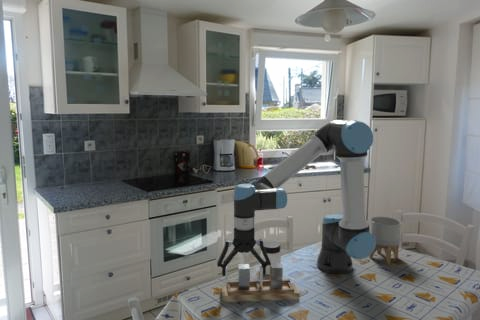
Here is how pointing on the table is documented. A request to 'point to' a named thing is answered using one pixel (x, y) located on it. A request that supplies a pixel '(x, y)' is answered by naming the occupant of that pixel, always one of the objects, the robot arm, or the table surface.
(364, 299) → the table surface
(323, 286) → the table surface
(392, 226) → the planter
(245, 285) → the grey rectangular prism
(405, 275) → the table surface
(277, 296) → the light wooden long frame
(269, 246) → the jar
